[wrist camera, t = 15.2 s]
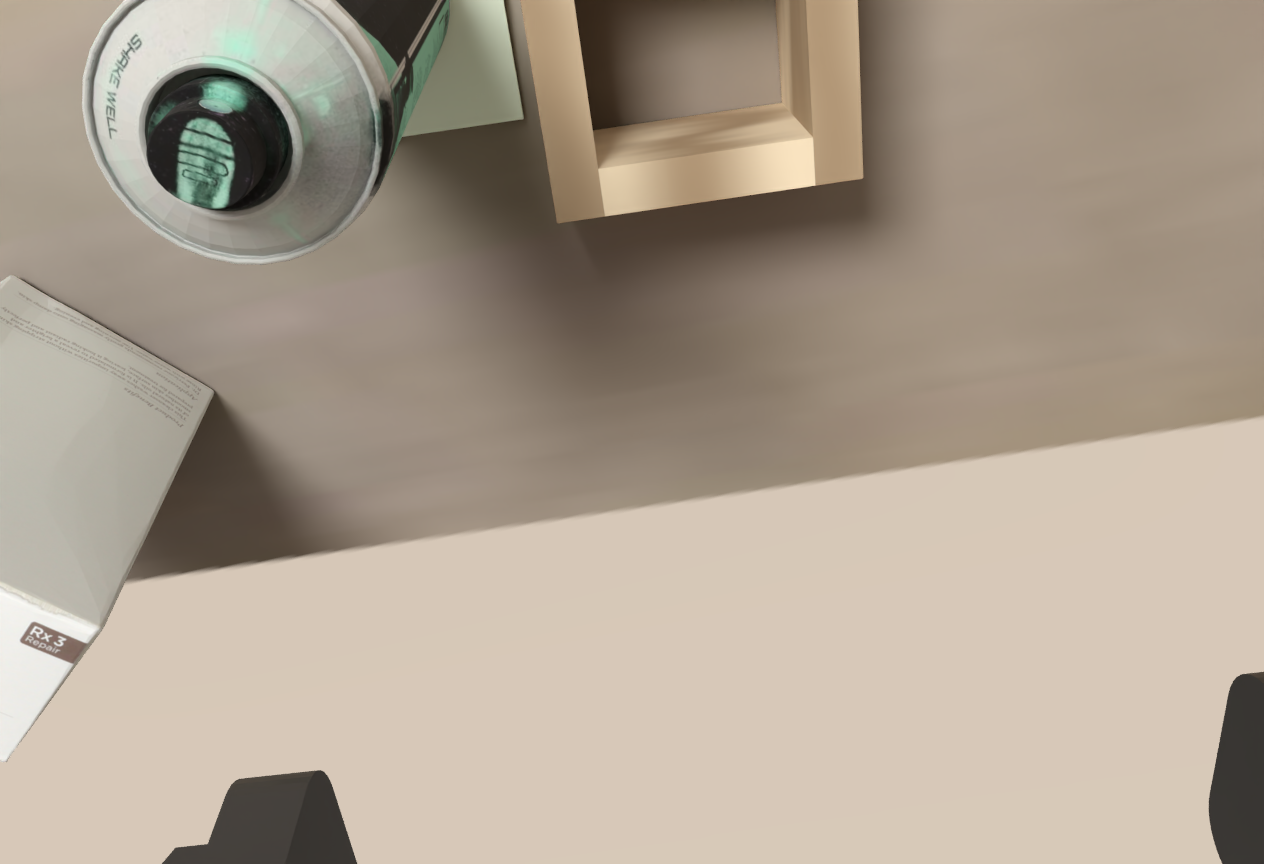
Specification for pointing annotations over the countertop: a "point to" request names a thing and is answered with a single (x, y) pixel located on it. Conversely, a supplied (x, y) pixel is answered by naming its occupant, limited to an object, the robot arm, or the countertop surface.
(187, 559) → the countertop surface
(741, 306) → the countertop surface
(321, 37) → the spray can
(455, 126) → the mat
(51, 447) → the skincare box
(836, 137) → the wooden box holder
